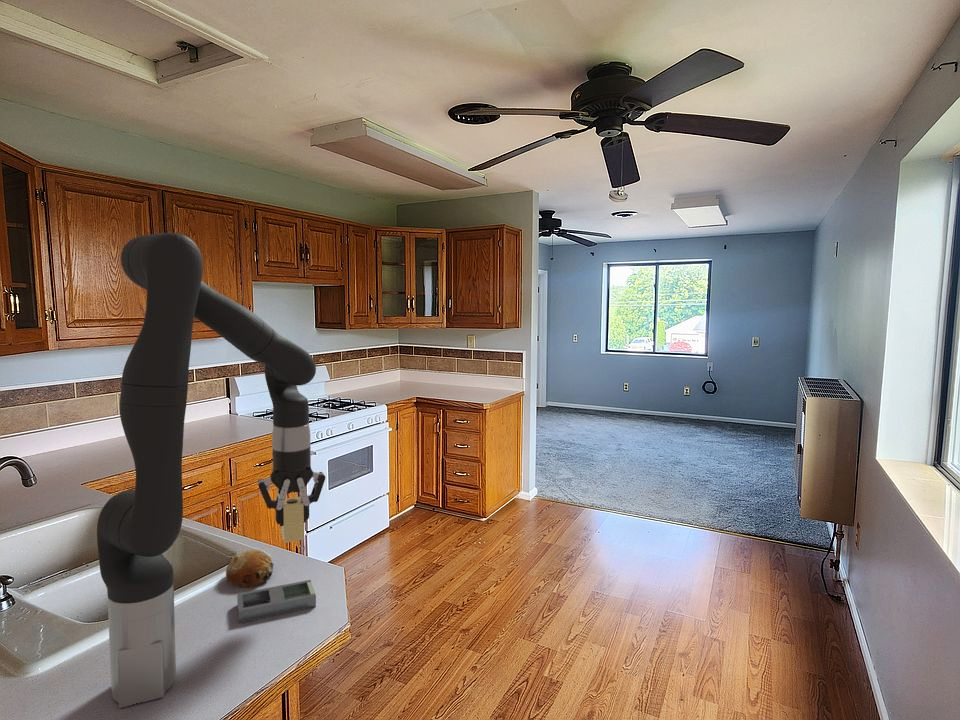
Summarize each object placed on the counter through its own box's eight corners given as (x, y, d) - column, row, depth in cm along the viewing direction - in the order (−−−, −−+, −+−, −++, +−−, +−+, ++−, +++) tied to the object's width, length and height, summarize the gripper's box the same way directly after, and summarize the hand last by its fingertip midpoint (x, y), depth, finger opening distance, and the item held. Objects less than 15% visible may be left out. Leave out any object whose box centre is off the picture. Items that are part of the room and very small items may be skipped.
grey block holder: (315, 606, 115) (315, 595, 115) (239, 623, 109) (238, 611, 108) (310, 590, 121) (310, 579, 121) (237, 604, 115) (237, 593, 114)
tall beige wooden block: (303, 539, 114) (303, 502, 113) (284, 542, 113) (283, 505, 112) (300, 531, 118) (300, 496, 117) (281, 534, 116) (280, 499, 115)
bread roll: (264, 578, 132) (256, 546, 134) (284, 575, 126) (276, 541, 127) (223, 595, 125) (216, 560, 126) (243, 592, 118) (235, 555, 120)
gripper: (256, 453, 106) (258, 536, 108) (329, 446, 112) (330, 524, 115) (253, 443, 113) (255, 521, 115) (322, 436, 119) (323, 511, 121)
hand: (292, 522), depth 115 cm, fingers closed on tall beige wooden block, 4 cm apart
